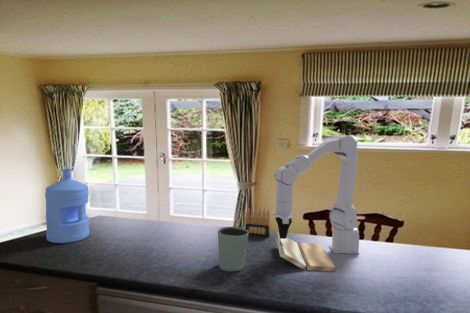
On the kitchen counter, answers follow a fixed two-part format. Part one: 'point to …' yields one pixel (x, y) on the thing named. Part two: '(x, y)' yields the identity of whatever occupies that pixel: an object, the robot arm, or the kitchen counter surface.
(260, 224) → the ammunition clip
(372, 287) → the kitchen counter surface
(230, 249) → the green cup
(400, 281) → the kitchen counter surface
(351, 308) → the kitchen counter surface
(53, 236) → the water jug
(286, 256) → the plank
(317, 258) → the laid plank
